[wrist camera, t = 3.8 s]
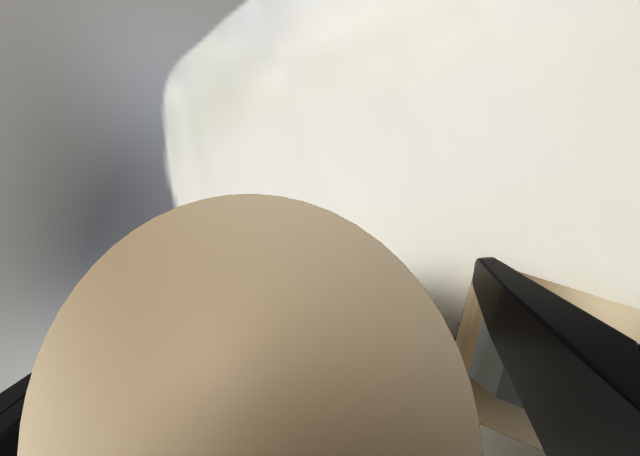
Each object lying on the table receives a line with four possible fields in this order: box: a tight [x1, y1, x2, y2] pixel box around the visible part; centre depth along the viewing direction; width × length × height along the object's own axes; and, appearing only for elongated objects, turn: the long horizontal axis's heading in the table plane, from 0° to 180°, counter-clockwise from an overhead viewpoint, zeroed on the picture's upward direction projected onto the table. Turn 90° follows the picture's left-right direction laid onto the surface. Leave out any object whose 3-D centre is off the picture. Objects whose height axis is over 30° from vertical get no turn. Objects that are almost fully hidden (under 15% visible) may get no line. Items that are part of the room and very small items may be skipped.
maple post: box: [17, 194, 482, 456], centre depth 9 cm, size 4×4×13 cm
